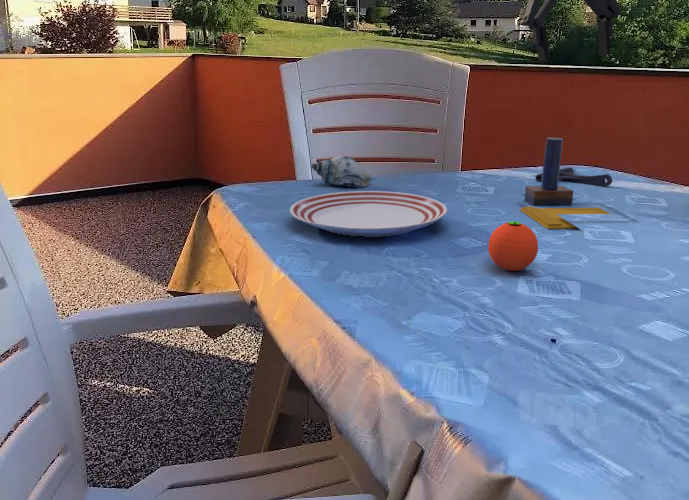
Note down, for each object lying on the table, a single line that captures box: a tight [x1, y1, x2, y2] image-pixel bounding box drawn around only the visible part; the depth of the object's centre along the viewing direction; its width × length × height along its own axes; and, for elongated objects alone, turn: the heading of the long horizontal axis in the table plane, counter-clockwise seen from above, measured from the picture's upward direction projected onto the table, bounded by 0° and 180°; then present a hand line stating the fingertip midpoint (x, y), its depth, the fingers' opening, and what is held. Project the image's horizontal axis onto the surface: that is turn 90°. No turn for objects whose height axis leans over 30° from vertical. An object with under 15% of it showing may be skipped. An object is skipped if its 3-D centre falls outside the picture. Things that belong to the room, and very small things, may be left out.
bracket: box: [535, 167, 613, 187], centre depth 165 cm, size 14×15×3 cm
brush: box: [524, 137, 574, 207], centre depth 141 cm, size 8×5×13 cm, turn 96°
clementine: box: [487, 220, 539, 272], centre depth 101 cm, size 8×7×7 cm
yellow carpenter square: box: [520, 206, 612, 230], centre depth 131 cm, size 16×14×1 cm
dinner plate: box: [289, 190, 448, 238], centre depth 124 cm, size 28×27×3 cm
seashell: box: [310, 155, 372, 189], centre depth 156 cm, size 6×8×12 cm
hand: (574, 58), depth 140 cm, fingers open, 13 cm apart
